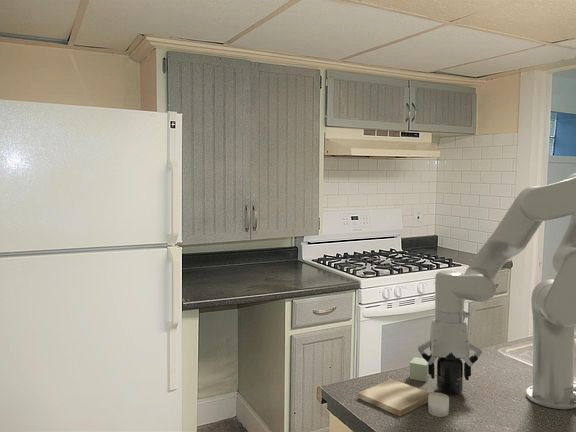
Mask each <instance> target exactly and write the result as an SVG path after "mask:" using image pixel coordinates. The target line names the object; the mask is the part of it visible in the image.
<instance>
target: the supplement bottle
mask: <svg viewBox="0 0 576 432" xmlns="http://www.w3.org/2000/svg"><path fill="white" fill-rule="evenodd" d="M446 357H447V358H438V357H437V358H436V359H437V360H436V389H437V391H438V393H442V394H445V395H447V396H458V395H461V394H462V393H463V392H464V391H463V390H464V389H463V388H464V387H463V383H464V378H463V377H464V362H463V360H462V359H460V358H456V357H455V356H454V355H453V354H452V352H451V354H450V353H449V355H448V356H446Z"/></svg>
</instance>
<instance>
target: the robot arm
mask: <svg viewBox="0 0 576 432" xmlns="http://www.w3.org/2000/svg"><path fill="white" fill-rule="evenodd" d="M568 216H570V219H569V223H568V226H567V228H566V230H565V233H564V235H563V236H562V239H561V240H560V242H559V245H558V246H557V248H556V249H555V252H554V254H553V256H552V267H553V269H554V270H555V272H556V273H557V274H556V275H555V278H554V279H552V278H551V279H545V280H544V279H543V280H542V281H540V282H538V283H537V284H536V285H535V287H534V288H533V290H532V293H531V314H532V385H530V386H529V387H527V388H526V390H525V396H526V397H527V399H528V400H529V401H531V402H532V403H535V404H537V405H540V406H542V407H545V408H550V409H557V410H570V409H572V410H573V409H576V383H574V382H575V381H574V379H575V378H574V377H575V376H574V374H575V373H574V371H575V370H574V369H575V368H574V367H575V336H576V335H575V325H576V173H575V172H574V173H571V174H570V175H569V176H567V177H565V179H564V180H562V181H557V182H553V183H550V184H546V185H545V184H544V185H542V186H539V185H534V186H533V185H532V186H527V187H524V188H523V189H522V190H521V191H520V192H519V193H518V194H517V196H516V198H515V199H514V201H513V202H512V203H511V205H510V207H509V209H508V210H507V212H506V213H505V215H504V216H503V218H502V220H501V221H500V222H499V223H498V225H497V226H496V228H495V229H494V231H493V233H492V234H491V235H490V236H489V238H488V239H487V241H486V242H485V243H484V244H483V245H482V246H481V248H480V249H479V250H478V252H477V253H476V254H475V257H474V258H473V259H472V261H471V263H470V264H469V265H468V267H467V269H466V271H465V272H464V274H463V273H462V272H460V271H457V270H440V271H438V272H436V274H435V277H434V281H435V283H434V284H435V285H434V289H435V290H434V292H435V293H434V295H435V297H434V299H435V300H434V308H435V309H434V313H435V314H434V318H432V320H431V323H430V324H431V325H430V332H429V340H427V341H425V342H424V343H422V344H420V345H419V346H417V351H418V353H419V354H420V355H421V358H423V359H425V360H426V361H427V362H428V373H429V374H431V377H430V378H431V379H435V364H434V363H435V361H437V360H436V359H438V358H447V357H446V356H448V355H449V353H450V354H451V352H452V354H453V355H454V356H455V357H456V358H460V359H461V360H462V359H463V360H464V362H463V377H464V379H465V380H466V381H469V380H470V379H469V377H471V376H472V366H473V364H474V363H476V362H477V361H478V359H479V358H480V356H481V355H482V353H483V351H482V348H480V347H478V346H477V345H475V344H473V343H472V342H470V340H469V339H470V338H469V329H468V324H467V320H466V319H467V318H470V316H471V315H470V312H467V311H465V300H466V301H471V302H476V303H484V302H488V301H490V300H492V299H493V298H494V297H495V295H496V294H497V285H496V282H495V281H494V279H495V278H496V276H497V275H498V274H499V271H500V270H501V269H502V268H503V267H504V265H505V264H506V263H507V262H508V261H509V260H510V259H512V258H513V257H515V256H517V255H519V254H520V253H521V252H523V251H524V250H525V249H526V247H527V246H528V244H529V243H530V241H531V239H532V238H533V236H534V235H535V234H536V232H537V231H538V229H539V227H540V226H541V225H542V223H543V222H547V221H551V220H556V219H559V218H560V219H561V218H564V217H565V218H566V217H568ZM427 349H429V351H430V353H429V354H427V353H426V351H425V350H427ZM470 350H471V351H473V352H474V353H473V354H472V355H471V356H470Z"/></svg>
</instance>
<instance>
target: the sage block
mask: <svg viewBox="0 0 576 432" xmlns="http://www.w3.org/2000/svg"><path fill="white" fill-rule="evenodd" d="M430 378H431V374H429V373H428V362H427V361H426V360H425V359H424V358H423V357H417V356H414V357H413V358H412V360H410V362H409V380H414V381H419V382H420V381H421V382H425V383H427V382H428V381H429V380H430Z"/></svg>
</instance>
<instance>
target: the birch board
mask: <svg viewBox="0 0 576 432" xmlns="http://www.w3.org/2000/svg"><path fill="white" fill-rule="evenodd" d="M431 393H432V392H429V391H426V390H423V389H420V388H418V387H416V386H413V385H410V384H407V383H405V382H401V381H398V380H396V379H394V378H390V379H387V380H385V381H383V382H382V381H381V382H380V383H377V384H376V385H374V386H371V387H368V388H366V389H364V390H361V391H360V392H358V393H357V395H358V396H357V398H358V399H359V400H361V401H363V402H366V403H369V404H370V405H373V406H375V407H378V408H380V409H382V410H385V411H386V412H389V413H392V414H394V415H396V416H398V417H402V416H404V415H406V414H408V413H410V412H411V411H414V410H416V409H418V408H419V407H421V406H423V405H425V404H428V395H429V394H431Z"/></svg>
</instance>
